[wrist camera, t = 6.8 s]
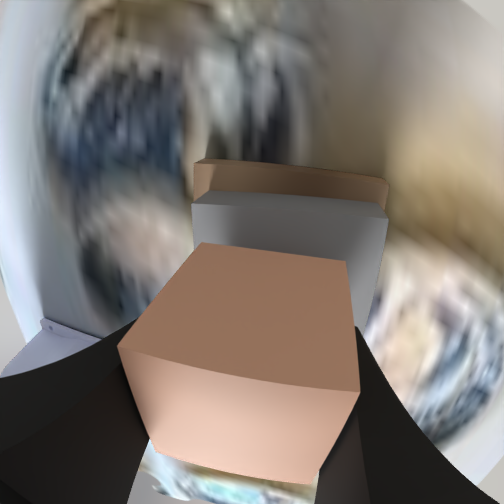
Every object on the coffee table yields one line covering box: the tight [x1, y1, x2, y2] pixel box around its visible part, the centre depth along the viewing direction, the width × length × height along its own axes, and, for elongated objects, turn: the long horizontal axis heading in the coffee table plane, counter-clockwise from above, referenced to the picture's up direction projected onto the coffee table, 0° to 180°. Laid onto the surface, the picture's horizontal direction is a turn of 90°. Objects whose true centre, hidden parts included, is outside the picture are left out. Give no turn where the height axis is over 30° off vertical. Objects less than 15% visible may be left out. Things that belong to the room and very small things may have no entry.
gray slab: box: [191, 190, 389, 336], centre depth 13 cm, size 7×7×2 cm
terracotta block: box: [117, 242, 360, 484], centre depth 8 cm, size 4×4×5 cm
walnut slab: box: [194, 158, 389, 211], centre depth 14 cm, size 8×8×2 cm
